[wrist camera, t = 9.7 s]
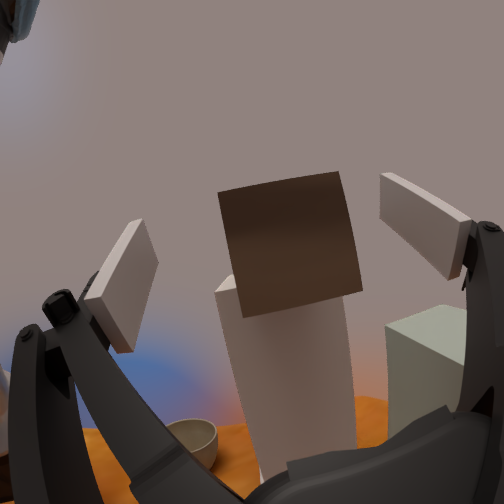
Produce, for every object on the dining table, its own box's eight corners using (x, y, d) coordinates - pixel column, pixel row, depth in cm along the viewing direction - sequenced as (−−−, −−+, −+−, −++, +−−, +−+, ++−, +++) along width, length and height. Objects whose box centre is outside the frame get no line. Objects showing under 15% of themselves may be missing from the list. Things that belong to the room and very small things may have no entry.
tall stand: (374, 525, 17) (370, 260, 17) (267, 551, 17) (180, 300, 17) (340, 453, 33) (314, 257, 33) (261, 471, 33) (212, 278, 33)
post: (500, 491, 11) (551, 320, 11) (414, 546, 11) (460, 389, 11) (441, 436, 27) (448, 298, 27) (369, 469, 27) (363, 327, 27)
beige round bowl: (161, 482, 31) (144, 451, 31) (179, 448, 41) (166, 418, 41) (222, 486, 30) (208, 454, 30) (232, 447, 40) (222, 416, 40)
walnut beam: (363, 290, 9) (338, 171, 9) (243, 318, 9) (217, 192, 9) (280, 264, 33) (273, 230, 33) (246, 271, 33) (239, 237, 33)
